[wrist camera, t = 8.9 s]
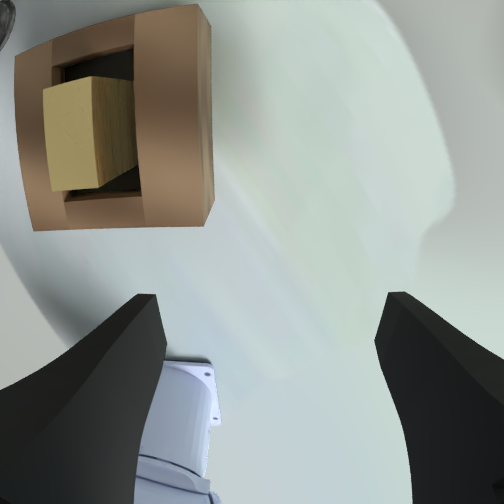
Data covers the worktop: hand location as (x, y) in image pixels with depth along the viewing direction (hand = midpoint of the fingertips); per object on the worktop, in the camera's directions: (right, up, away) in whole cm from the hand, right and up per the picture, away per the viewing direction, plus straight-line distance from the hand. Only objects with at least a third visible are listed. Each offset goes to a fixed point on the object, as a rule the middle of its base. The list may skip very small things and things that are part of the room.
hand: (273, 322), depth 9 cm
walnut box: (-8, +10, +6) cm, 14 cm away
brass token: (-8, +9, +6) cm, 14 cm away
